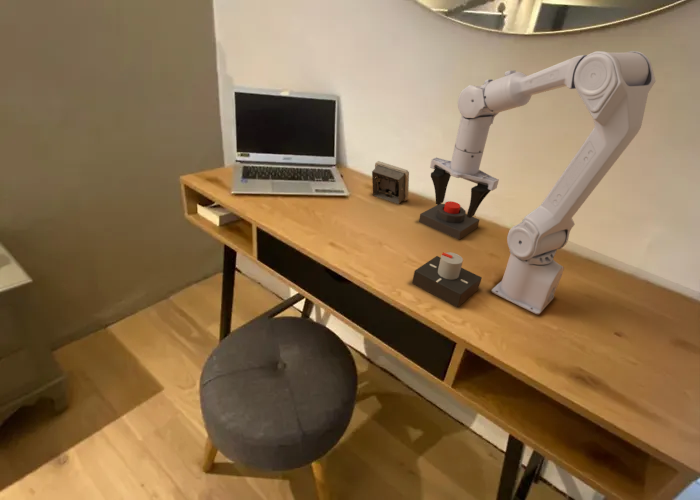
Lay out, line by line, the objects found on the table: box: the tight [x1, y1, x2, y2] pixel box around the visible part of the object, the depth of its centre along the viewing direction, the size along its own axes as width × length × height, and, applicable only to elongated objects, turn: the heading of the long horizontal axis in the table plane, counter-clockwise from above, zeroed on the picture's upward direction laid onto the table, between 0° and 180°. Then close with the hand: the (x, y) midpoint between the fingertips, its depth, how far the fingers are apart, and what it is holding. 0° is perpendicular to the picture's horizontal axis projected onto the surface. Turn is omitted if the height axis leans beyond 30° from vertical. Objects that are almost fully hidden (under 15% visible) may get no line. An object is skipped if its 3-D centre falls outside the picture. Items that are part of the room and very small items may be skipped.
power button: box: [444, 200, 462, 214], centre depth 110 cm, size 4×4×2 cm
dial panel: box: [411, 255, 482, 308], centre depth 90 cm, size 10×8×3 cm
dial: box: [438, 251, 464, 280], centre depth 88 cm, size 4×4×4 cm
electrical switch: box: [371, 160, 410, 205], centre depth 120 cm, size 9×5×9 cm, turn 57°
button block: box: [418, 203, 480, 240], centre depth 112 cm, size 11×9×4 cm
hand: (454, 209), depth 101 cm, fingers open, 7 cm apart
